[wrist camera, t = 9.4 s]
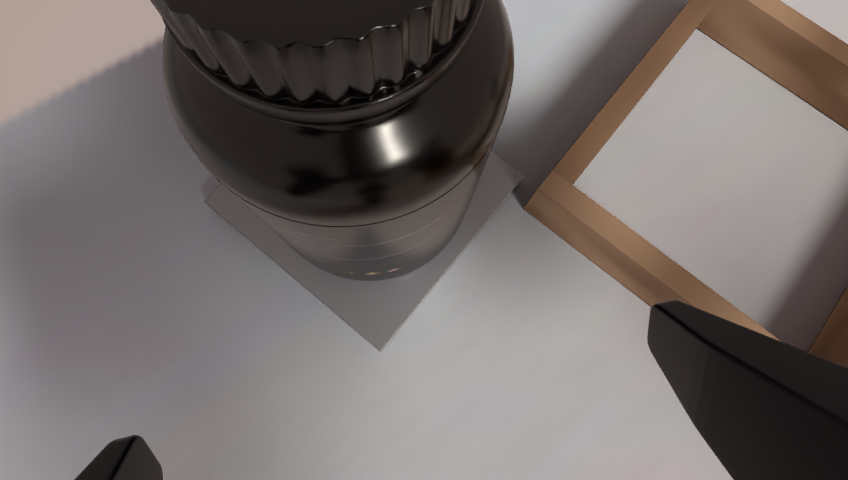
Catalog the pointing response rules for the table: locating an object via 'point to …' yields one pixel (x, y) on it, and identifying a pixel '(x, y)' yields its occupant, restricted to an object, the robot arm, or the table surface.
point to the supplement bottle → (343, 117)
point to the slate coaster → (386, 299)
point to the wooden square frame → (709, 12)
